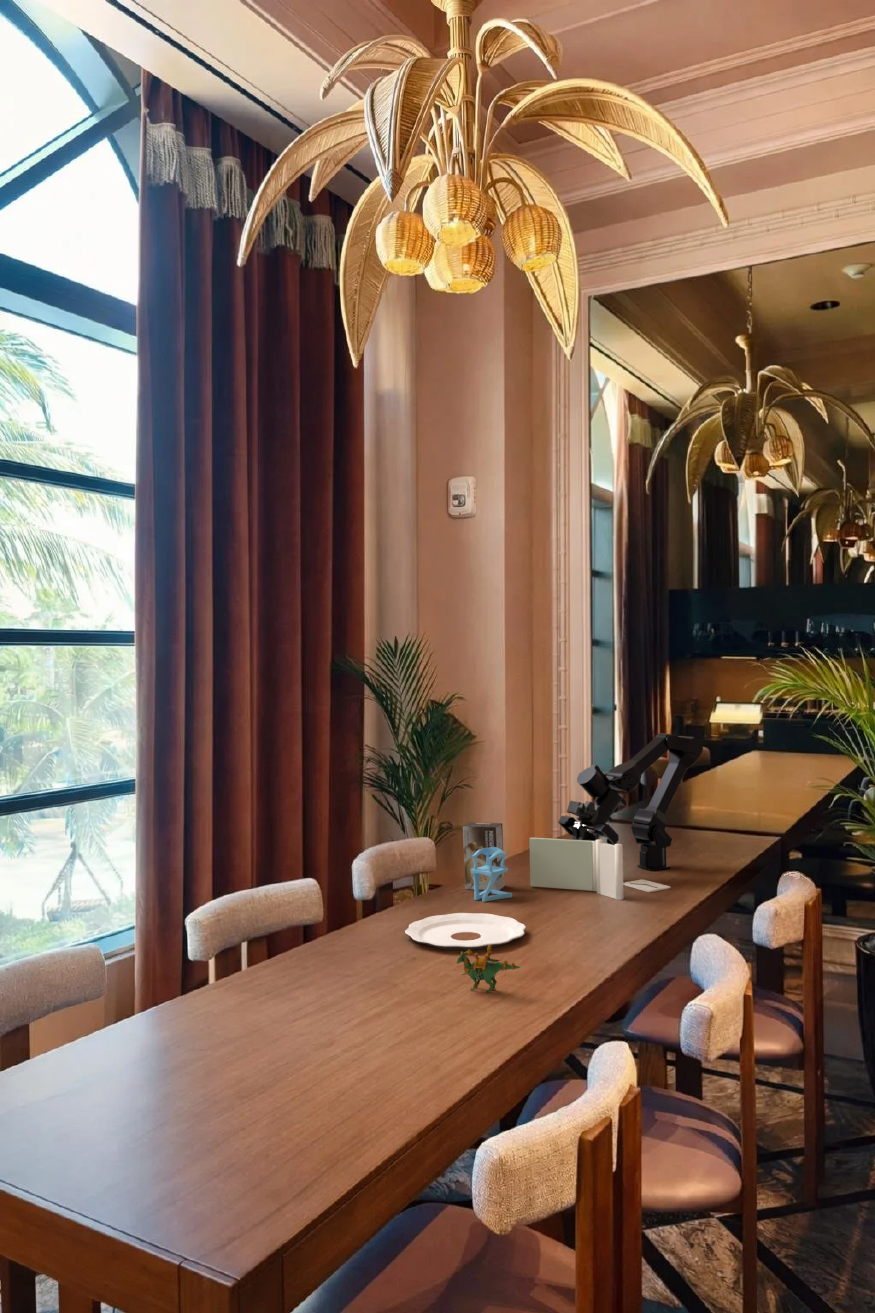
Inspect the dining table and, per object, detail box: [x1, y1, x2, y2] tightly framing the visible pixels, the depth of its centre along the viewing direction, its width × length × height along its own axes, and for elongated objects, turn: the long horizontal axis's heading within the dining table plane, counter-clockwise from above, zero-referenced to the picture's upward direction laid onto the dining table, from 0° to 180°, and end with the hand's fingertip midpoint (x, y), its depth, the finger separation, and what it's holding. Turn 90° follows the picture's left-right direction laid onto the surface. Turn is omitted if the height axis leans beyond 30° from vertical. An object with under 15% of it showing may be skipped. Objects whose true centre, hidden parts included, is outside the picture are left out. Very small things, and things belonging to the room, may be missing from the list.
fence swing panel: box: [528, 837, 597, 892], centre depth 246 cm, size 17×1×12 cm, turn 67°
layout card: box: [623, 878, 671, 893], centre depth 247 cm, size 10×7×1 cm
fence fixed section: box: [596, 838, 624, 901], centre depth 238 cm, size 9×2×13 cm, turn 31°
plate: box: [404, 912, 527, 951], centre depth 207 cm, size 25×25×2 cm
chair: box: [471, 847, 513, 903], centre depth 239 cm, size 8×8×12 cm
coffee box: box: [462, 821, 505, 891], centre depth 250 cm, size 9×6×16 cm
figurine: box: [456, 945, 521, 994], centre depth 173 cm, size 3×12×8 cm, turn 67°
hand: (570, 856), depth 254 cm, fingers closed
